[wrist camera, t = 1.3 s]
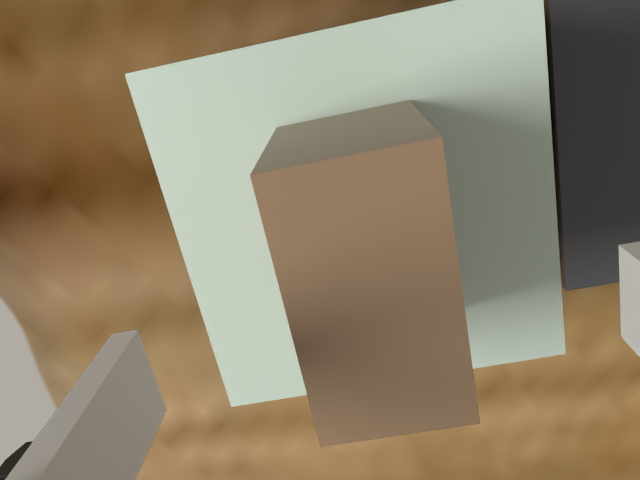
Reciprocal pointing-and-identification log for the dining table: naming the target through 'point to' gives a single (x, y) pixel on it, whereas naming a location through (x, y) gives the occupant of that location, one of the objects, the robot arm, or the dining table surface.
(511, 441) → the dining table surface
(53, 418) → the robot arm
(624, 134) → the mat
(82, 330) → the dining table surface
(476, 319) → the block on square base
